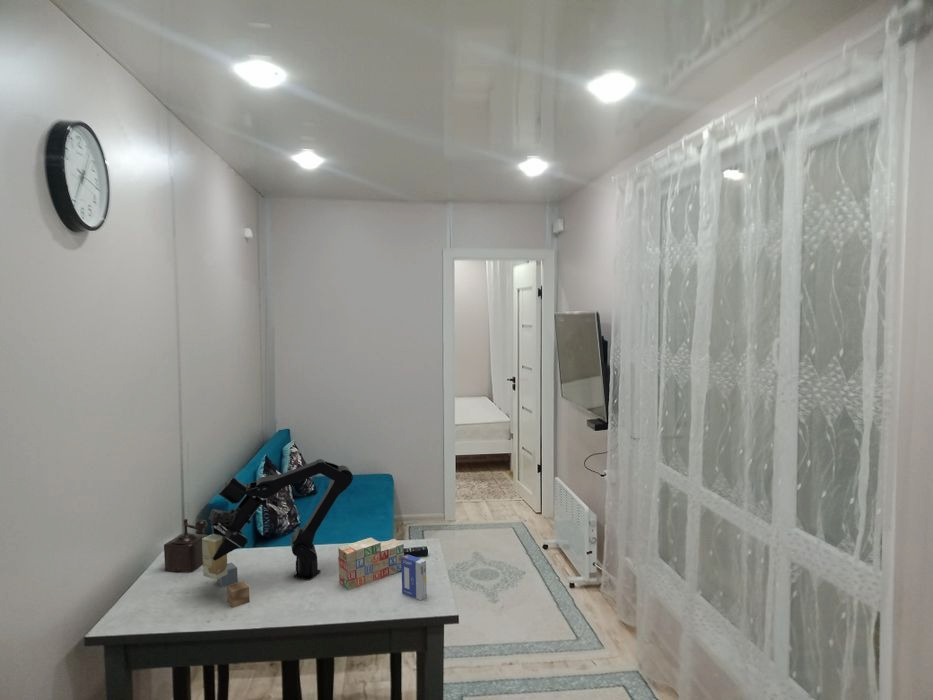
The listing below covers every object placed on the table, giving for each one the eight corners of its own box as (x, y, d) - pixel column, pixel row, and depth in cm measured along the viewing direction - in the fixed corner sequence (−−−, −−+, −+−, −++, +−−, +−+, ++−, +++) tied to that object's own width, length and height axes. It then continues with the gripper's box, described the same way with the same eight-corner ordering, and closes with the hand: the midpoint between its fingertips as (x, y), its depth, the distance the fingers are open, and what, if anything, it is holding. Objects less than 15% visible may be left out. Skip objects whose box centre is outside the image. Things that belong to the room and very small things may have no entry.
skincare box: (202, 576, 176) (200, 538, 176) (214, 570, 180) (212, 533, 180) (217, 580, 174) (215, 541, 173) (228, 574, 177) (226, 536, 177)
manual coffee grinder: (162, 572, 194) (159, 521, 193) (182, 558, 205) (179, 509, 204) (205, 574, 192) (202, 522, 191) (222, 559, 203) (220, 510, 202)
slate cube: (232, 576, 190) (231, 562, 190) (237, 582, 187) (237, 567, 186) (216, 581, 187) (216, 567, 187) (222, 587, 183) (221, 572, 183)
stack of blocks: (394, 564, 198) (394, 529, 197) (404, 570, 194) (404, 535, 193) (338, 583, 185) (337, 546, 184) (347, 590, 180) (346, 553, 179)
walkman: (402, 593, 178) (401, 556, 177) (407, 589, 180) (407, 553, 179) (421, 600, 173) (420, 562, 172) (427, 596, 175) (426, 559, 174)
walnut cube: (243, 596, 177) (243, 580, 177) (249, 602, 174) (249, 586, 173) (227, 601, 174) (226, 586, 174) (232, 608, 170) (232, 592, 170)
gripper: (215, 492, 185) (180, 534, 179) (235, 506, 171) (198, 553, 164) (241, 509, 191) (208, 551, 184) (262, 525, 176) (227, 570, 170)
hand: (209, 555), depth 176 cm, fingers closed on skincare box, 7 cm apart
